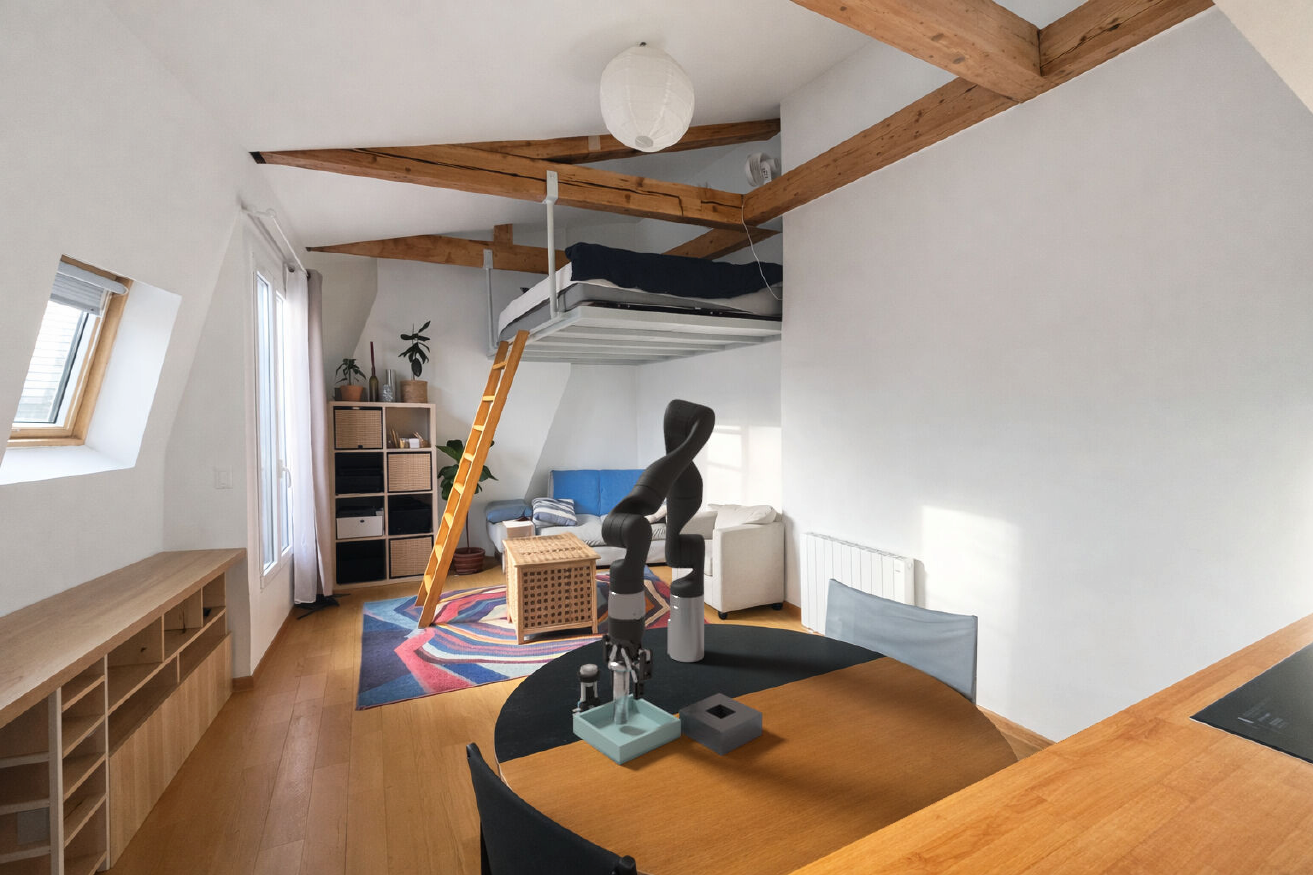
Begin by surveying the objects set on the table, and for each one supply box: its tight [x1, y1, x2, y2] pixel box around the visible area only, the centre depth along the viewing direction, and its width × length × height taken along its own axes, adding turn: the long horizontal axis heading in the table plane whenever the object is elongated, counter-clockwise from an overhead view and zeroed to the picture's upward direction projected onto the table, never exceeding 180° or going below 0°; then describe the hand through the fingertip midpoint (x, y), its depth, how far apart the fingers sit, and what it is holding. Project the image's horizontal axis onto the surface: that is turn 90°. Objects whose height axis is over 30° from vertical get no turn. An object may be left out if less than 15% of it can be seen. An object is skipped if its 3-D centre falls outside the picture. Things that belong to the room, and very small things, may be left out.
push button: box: [572, 663, 602, 717], centre depth 134 cm, size 7×5×10 cm
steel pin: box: [610, 660, 635, 725], centre depth 126 cm, size 5×5×12 cm
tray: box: [572, 693, 682, 766], centre depth 125 cm, size 16×16×4 cm
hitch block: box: [678, 692, 763, 756], centre depth 125 cm, size 12×12×4 cm
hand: (626, 692), depth 124 cm, fingers open, 7 cm apart
